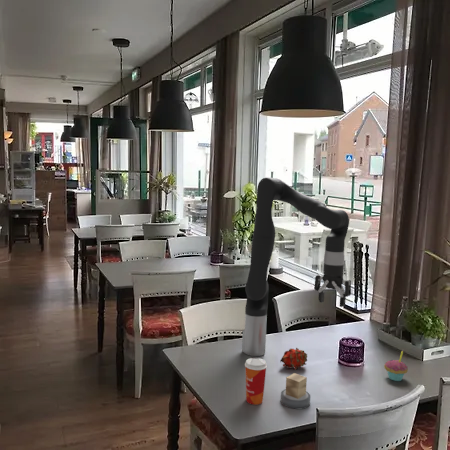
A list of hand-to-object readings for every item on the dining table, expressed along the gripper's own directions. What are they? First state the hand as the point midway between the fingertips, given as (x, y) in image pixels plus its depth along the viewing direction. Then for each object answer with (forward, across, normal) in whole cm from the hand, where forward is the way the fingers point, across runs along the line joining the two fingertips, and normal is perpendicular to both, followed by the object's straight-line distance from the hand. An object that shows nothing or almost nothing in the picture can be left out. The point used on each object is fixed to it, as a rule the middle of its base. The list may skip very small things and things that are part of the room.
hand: (331, 304), depth 188 cm
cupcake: (+28, -21, -15) cm, 38 cm away
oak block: (+25, -3, +28) cm, 38 cm away
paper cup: (+28, +8, +37) cm, 47 cm away
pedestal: (+28, -3, +28) cm, 40 cm away
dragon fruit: (+28, +13, +4) cm, 31 cm away
